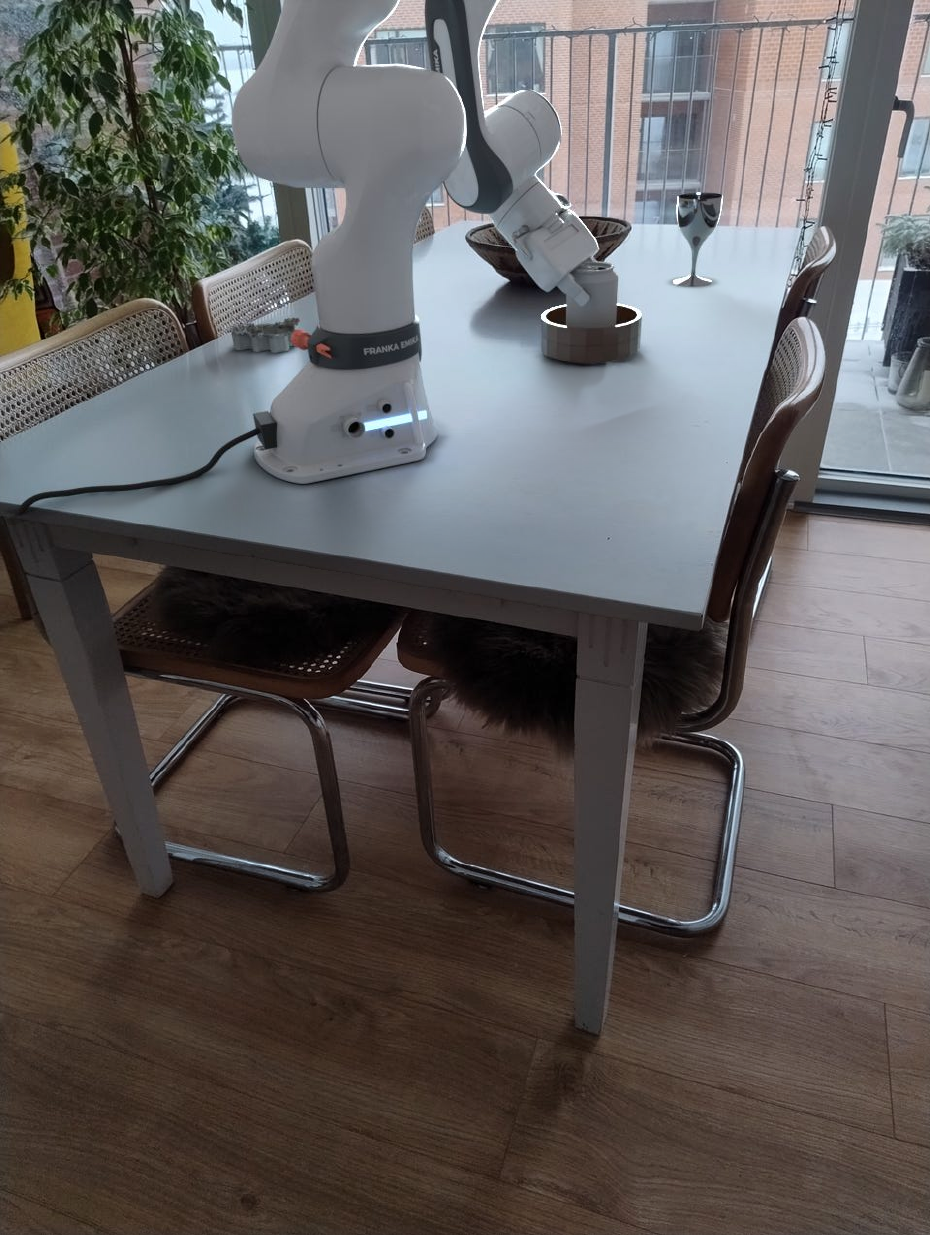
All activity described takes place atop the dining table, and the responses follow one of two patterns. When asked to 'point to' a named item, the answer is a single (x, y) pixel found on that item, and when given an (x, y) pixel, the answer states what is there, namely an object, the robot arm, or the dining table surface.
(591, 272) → the can
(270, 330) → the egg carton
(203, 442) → the dining table surface
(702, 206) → the silver goblet
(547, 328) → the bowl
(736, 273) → the dining table surface
